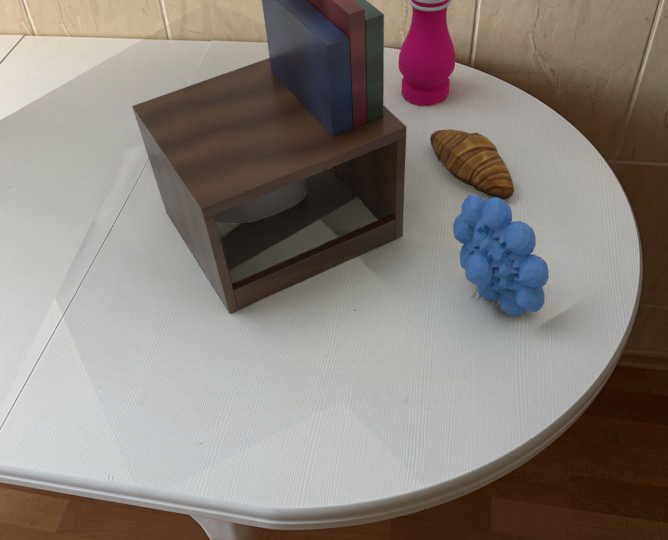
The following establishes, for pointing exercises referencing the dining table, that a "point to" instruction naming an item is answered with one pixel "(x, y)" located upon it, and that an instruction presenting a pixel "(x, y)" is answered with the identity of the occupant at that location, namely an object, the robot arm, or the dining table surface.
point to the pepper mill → (427, 54)
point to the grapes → (500, 255)
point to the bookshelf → (283, 139)
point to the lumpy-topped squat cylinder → (265, 204)
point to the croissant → (473, 161)
